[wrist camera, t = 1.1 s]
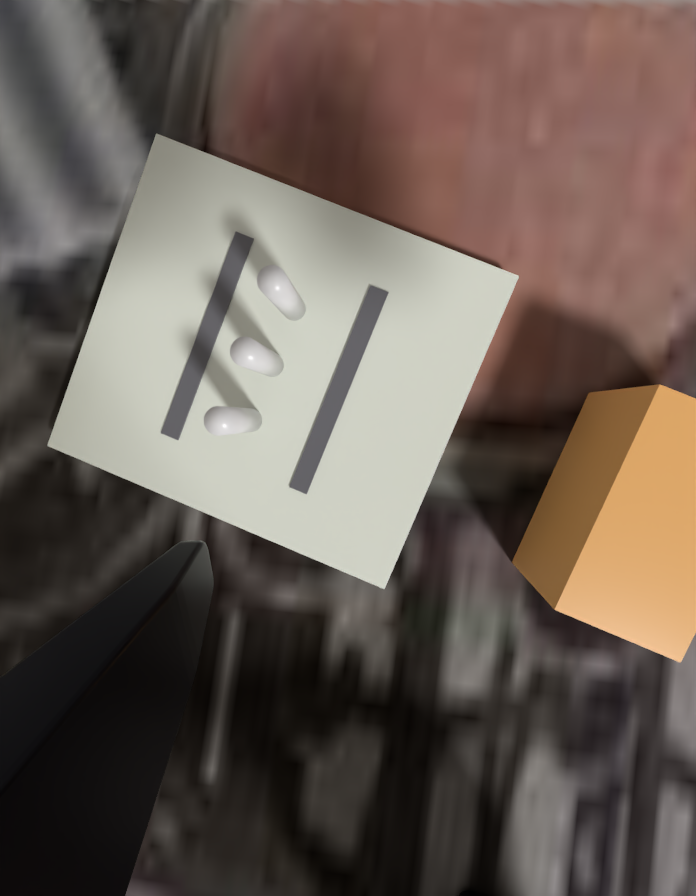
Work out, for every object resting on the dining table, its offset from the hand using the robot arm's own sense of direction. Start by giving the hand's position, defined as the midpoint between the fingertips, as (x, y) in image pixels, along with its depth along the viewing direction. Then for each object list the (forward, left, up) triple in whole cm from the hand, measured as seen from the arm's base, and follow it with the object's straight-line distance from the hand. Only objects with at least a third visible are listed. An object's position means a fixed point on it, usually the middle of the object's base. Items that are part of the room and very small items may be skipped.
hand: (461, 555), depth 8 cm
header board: (+7, -2, -12) cm, 15 cm away
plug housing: (-8, -2, -12) cm, 15 cm away
